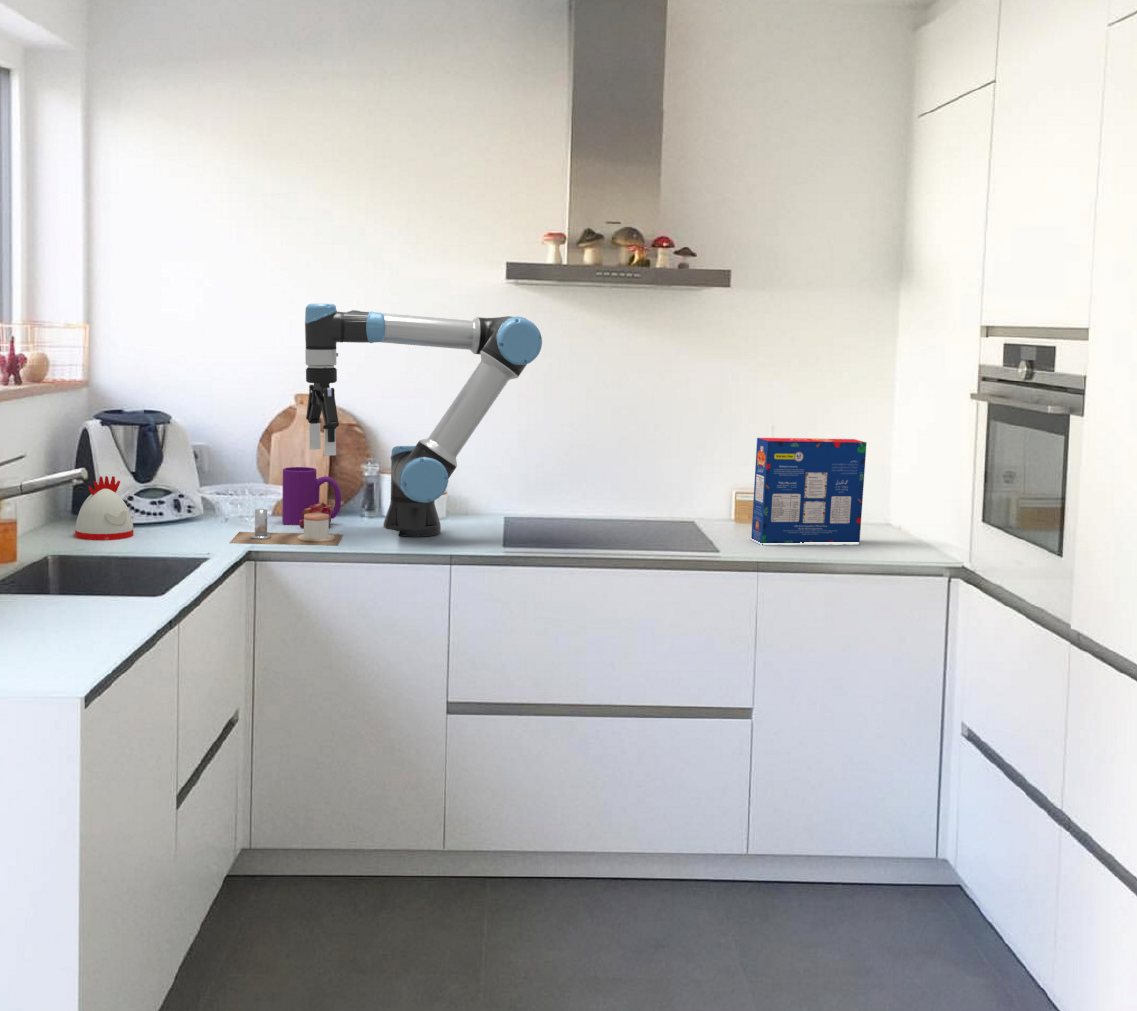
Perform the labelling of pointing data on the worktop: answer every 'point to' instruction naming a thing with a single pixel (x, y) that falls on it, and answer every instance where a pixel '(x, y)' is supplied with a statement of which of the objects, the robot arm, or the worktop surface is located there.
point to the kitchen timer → (104, 514)
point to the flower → (317, 511)
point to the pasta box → (808, 490)
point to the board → (281, 539)
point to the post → (261, 525)
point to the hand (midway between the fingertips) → (322, 452)
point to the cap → (316, 525)
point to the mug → (304, 493)
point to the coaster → (302, 538)
